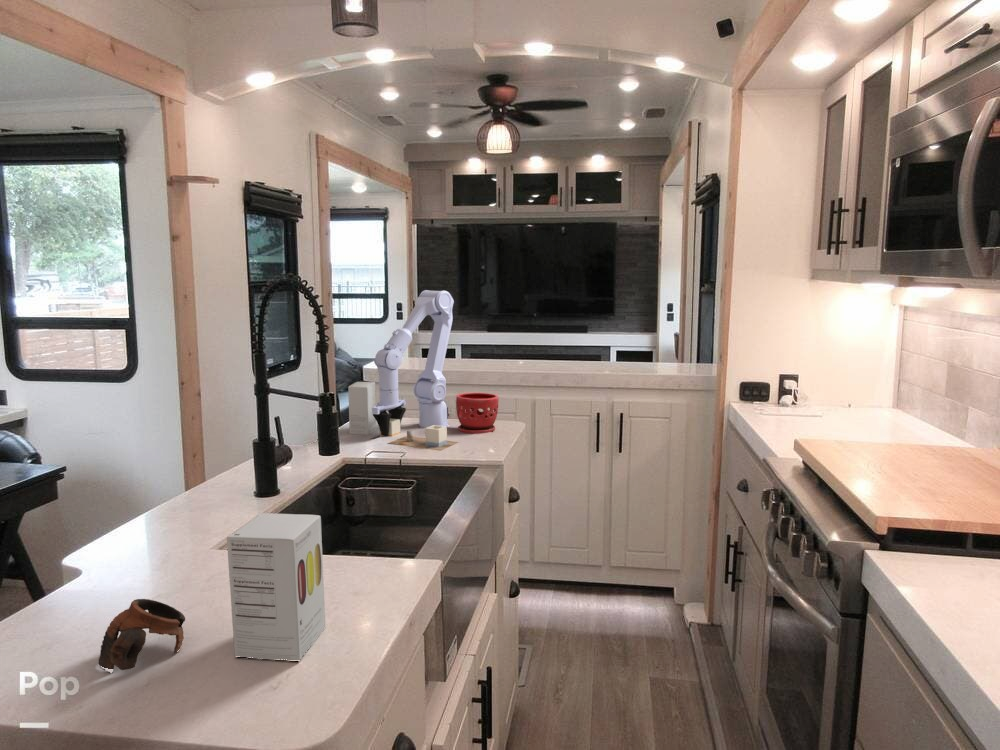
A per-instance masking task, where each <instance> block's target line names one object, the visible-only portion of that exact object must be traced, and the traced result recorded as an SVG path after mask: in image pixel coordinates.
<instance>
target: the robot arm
mask: <svg viewBox="0 0 1000 750" xmlns="http://www.w3.org/2000/svg"><path fill="white" fill-rule="evenodd" d="M454 304H455V301H454V298H453V296H452V294H451V293H450V292H449V291H447V290H429V289H428V290H427V289H425V290H423V291H421V293H419V296H418V297H416V299H415V306H414V307H413V309H412V311H411V313H410V314H409V316H408V317H407V319H406V321H405V322H404V324H403V326H402V327H401V328H397V329H396V330H394V331H393V332H392V333H391V335H392V336H390V338H389V340H388V342H386V343H385V344H384V346H383V348H381V349H379V350H377V351H376V352H377V353H376V354H375V357H374V358H373V362H374V363H373V364H374V365H375V366H376V367H377V372H378V389H379V390H378V392H379V395H378V396H379V401H378V402H376V406H375V407H372V414H373V416H374V417H375V419H376V424H377V425H378V428H379V433H380V432H381V435H384V436H385V437H386V436H387V435H388V434H389V422H390V418H391V419H400V425H401V424H402V420H403V417H404V415H405V413H406V411H407V410H406V407H405V406H406V404H407V403H406V401H407V400H406V399H402V398H400V399H399V370H398V369H399V367H400V366H401V365H402V362H403V356H404V353H405V351H406V350H407V348H408V347H410V344H411V343H412V341H413V333H414V332H415V331H416V329H417V328H418V327H419V326H420V324H421V323H422V321H424V319H425V318H426V317H427V316H430V317H431V319H432V321H433V322H434V323H433V329H432V333H431V338H430V343H429V348H428V351H427V352H428V354H427V357H426V361H425V367H424V370H423V371H422V372H421V373H420V374H419V375H417V377H418V378H417V380H416V382H415V383H414V385H413V395H414V396H415V397H416V398H417V402H418V423H419V424H418V426H419V427H420V428H422V429H423V428H424V429H425V428H427V427H430V426H432V425H438V426H447V427H450V424H448V407H447V404H446V402H445V401H444V399H445V397H446V395H447V386H446V384H447V379H446V378H445V376H444V374H443V370H444V369H443V368H444V363H445V360H446V359H445V358H446V354H447V350H448V345H449V340H450V335H451V331H452V330H451V329H452V325H453V319H454V317H453V307H454ZM387 411H388V412H387ZM384 436H383V437H384ZM387 437H388V436H387Z"/></svg>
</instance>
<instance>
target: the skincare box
mask: <svg viewBox="0 0 1000 750" xmlns="http://www.w3.org/2000/svg"><path fill="white" fill-rule="evenodd" d="M347 389H348V420H349V421H348V422H349V425H348V426H349V435H370V434H371V433H373V432H374V431H375V430H377V421H376V419H375V417H374V416H373V414H372V407H375V406H376V405H377V402H376V382H375V381H356V382H353V383H352V384H350V385H349V386H348V387H347Z"/></svg>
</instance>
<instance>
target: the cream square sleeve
mask: <svg viewBox="0 0 1000 750" xmlns="http://www.w3.org/2000/svg"><path fill="white" fill-rule="evenodd" d="M399 434H401V424H400V419H391V418H390V422H389V434H388V435H387V437H394V436H396V435H399ZM379 435H380V437H379V438H381V437H384V435H381V432H380V431H379Z"/></svg>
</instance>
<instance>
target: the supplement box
mask: <svg viewBox="0 0 1000 750" xmlns="http://www.w3.org/2000/svg"><path fill="white" fill-rule="evenodd" d="M322 541H323V539H322V517H321V515H318V514H303V513H302V514H301V513H300V514H298V513H297V514H294V513H275V512H274V513H271V512H270V513H268V512H265V513H264V512H260V513H258V514H257V515H256V516H254V517H253V518H252V519H251V520H249V521H248V522H247V523H245V524H243V525H242V526H241V527H240V528H238V529H236V531H234V532H232V533H231V534H229V535H228V536H227V537H226V544H227V545H226V547H227V549H226V550H227V561H228V562H227V563H228V564H227V565H228V576H229V588H230V589H229V590H230V591H229V592H230V606H231V618H232V619H231V620H232V621H231V622H232V635H233V650H234V657H235V656H240V657H251V658H252V657H253V658H259V659H258V660H262V658H263V659H280V660H281V659H283V660H284V659H285V660H286V659H287V660H300V659H301V658H302V656H303V655H304V654H305V652H306V651H307V650H308V649H309V648H310V649H311V647H312V646H313V645H314V643H315V642H316V641H317V639H318V638H319V637H320V636H321V634H322V633H321V632H323V631H324V630H325V629H326V627H325V626H326V607H325V603H326V602H325V585H324V579H325V578H324V563H323V543H322ZM324 628H325V629H324ZM323 629H324V630H323ZM318 636H319V637H318ZM315 640H316V641H315ZM314 641H315V642H314ZM312 644H313V645H312ZM311 645H312V646H311ZM310 646H311V647H310ZM310 649H309V650H310ZM309 650H308V651H309ZM308 651H307V652H308ZM305 655H306V654H305ZM305 655H304V656H305ZM260 658H261V659H260ZM302 659H303V658H302ZM302 659H301V660H302Z"/></svg>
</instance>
